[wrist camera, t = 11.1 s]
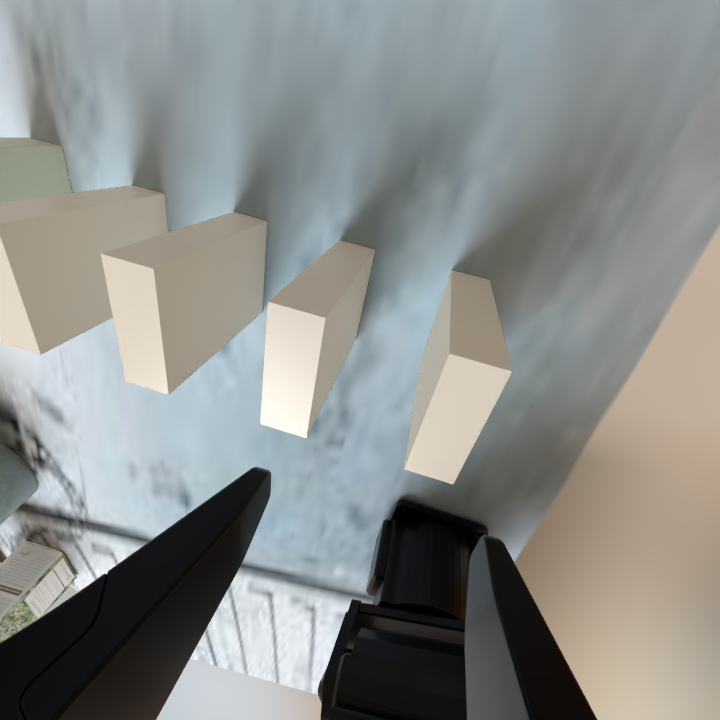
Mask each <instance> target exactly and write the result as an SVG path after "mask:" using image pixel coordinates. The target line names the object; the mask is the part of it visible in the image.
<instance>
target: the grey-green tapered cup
mask: <svg viewBox="0 0 720 720" xmlns="http://www.w3.org/2000/svg"><path fill="white" fill-rule="evenodd" d="M37 488H38V481H37V480H36V477H35V475H34V473H33V472H32V470H31V469H30V468H29V466H28V465H27V464H26V463H25V462H24V461H23V460H22V459H21V458H20V457H19V456H18V455H17V454H16V453H14V452H13V451H12V450H11V449H9V448H8V447H6V446H5V445H3V444H1V443H0V525H1V524H2V523H3V522H4V521H5V520H6V519H7V518H8V517H9V516H10V515H11V514H12V513H13V512H14V511H15V510H16V509H17V508H18V507H20V506H21V505H22V504H23V503H24V502H25V501H26V500H28V499H29V498H30V497H31V496H32V495H33V494H34V493H35V492H36V491H37Z"/></svg>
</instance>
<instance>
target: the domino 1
mask: <svg viewBox="0 0 720 720" xmlns="http://www.w3.org/2000/svg"><path fill="white" fill-rule="evenodd" d="M71 193H72V189H71V185H70V180H69V175H68V171H67V166H66V162H65V157H64V152H63V148H62V146H59V145H55V144H51V143H48V142H44V141H40V140H36V139H33V138H0V203H5V202H12V201H19V200H27V199H34V198H41V197H49V196H56V195H63V194H71Z"/></svg>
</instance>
